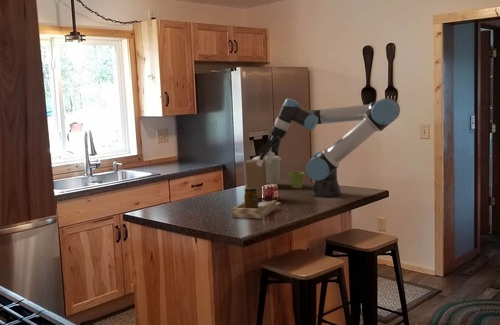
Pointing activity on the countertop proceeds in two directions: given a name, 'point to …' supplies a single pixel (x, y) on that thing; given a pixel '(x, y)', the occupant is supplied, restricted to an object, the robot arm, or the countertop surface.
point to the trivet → (266, 203)
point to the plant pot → (296, 179)
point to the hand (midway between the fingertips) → (263, 164)
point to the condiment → (251, 198)
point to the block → (255, 176)
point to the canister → (272, 169)
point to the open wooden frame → (253, 210)
